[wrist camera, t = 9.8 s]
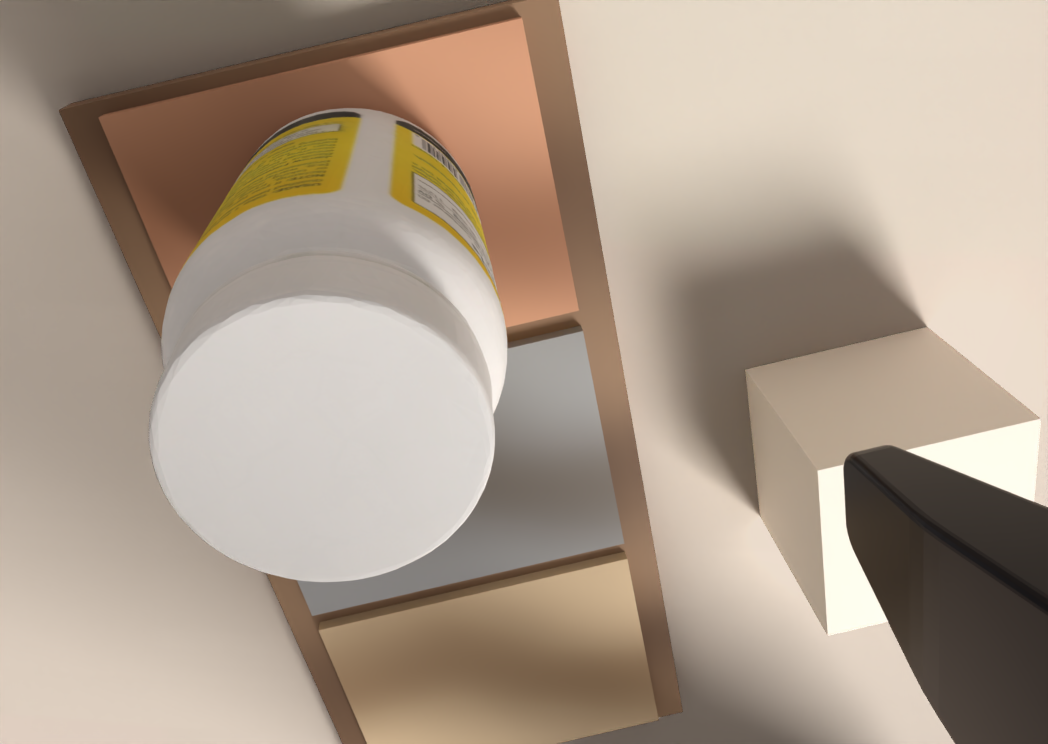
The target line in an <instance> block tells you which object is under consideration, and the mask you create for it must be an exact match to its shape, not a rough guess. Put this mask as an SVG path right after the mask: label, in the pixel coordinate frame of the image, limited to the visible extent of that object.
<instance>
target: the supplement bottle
mask: <svg viewBox="0 0 1048 744" xmlns="http://www.w3.org/2000/svg"><path fill="white" fill-rule="evenodd" d="M161 346H162V361H163V367H164V371H163V373H162V375H161V378H160V380H159V382H158V385H157V388H156V391H155V395H154V398H153V402H152V406H151V411H150V419H149V446H150V453H151V458H152V463H153V466H154V470H155V473H156V476H157V479H158V481H159V483H160V485H161V488H162V490H163V492H164V494H165V496H166V497H167V499H168V501H169V502H170V504H171V505H172V506H173V508H174V509H175V511H176V512H177V514H178V515H179V516H180V518H181V519H182V520H183V521H184V522H185V523H186V524H187V525H188V526H189V527H190V528H191V529H192V531H194V532H195V533H196V534H197V535H198V536H199V537H200V538H201V539H203V540H204V541H205V542H206V543H208V544H209V545H210V546H211V547H213V548H214V549H216V550H217V551H219V552H221V553H222V554H224V555H225V556H227V557H229V558H231V559H233V560H235V561H237V562H239V563H241V564H243V565H245V566H248V567H250V568H253V569H255V570H258V571H261V572H264V573H268V574H271V575H276V576H280V577H284V578H288V579H294V580H300V581H311V582H341V581H352V580H359V579H365V578H369V577H373V576H377V575H380V574H384V573H387V572H390V571H393V570H396V569H398V568H400V567H402V566H405V565H407V564H409V563H411V562H413V561H415V560H417V559H419V558H421V557H423V556H424V555H426V554H428V553H430V552H432V551H433V550H434V549H435V548H437V547H438V546H439V545H441V544H442V543H443V542H445V541H446V540H447V539H448V538H449V537H450V536H451V535H452V534H453V533H454V532H455V531H456V530H457V529H458V528H459V527H460V526H461V525H462V524H463V523H464V522H465V520H466V519H467V518H468V516H469V515H470V514H471V512H472V511H473V509H474V507H475V506H476V504H477V503H478V501H479V499H480V497H481V495H482V493H483V491H484V489H485V486H486V483H487V481H488V478H489V475H490V472H491V467H492V463H493V458H494V449H495V425H494V416H493V413H494V411H495V409H496V407H497V404H498V402H499V399H500V396H501V392H502V389H503V385H504V380H505V373H506V367H507V332H506V325H505V319H504V314H503V310H502V306H501V301H500V299H499V295H498V291H497V287H496V282H495V278H494V274H493V270H492V265H491V262H490V256H489V253H488V249H487V245H486V242H485V237H484V233H483V229H482V226H481V221H480V218H479V214H478V210H477V206H476V202H475V198H474V196H473V193H472V190H471V187H470V185H469V183H468V181H467V179H466V177H465V175H464V173H463V171H462V169H461V168H460V166H459V165H458V163H457V162H456V160H455V159H454V158H453V156H452V155H451V154H450V153H449V152H448V150H447V149H446V148H445V147H444V146H443V145H442V144H441V143H440V142H439V141H437V140H436V139H435V138H434V137H433V136H431V135H430V134H429V133H427V132H426V131H424V130H423V129H422V128H420V127H418V126H416V125H415V124H413V123H411V122H409V121H407V120H405V119H402V118H400V117H398V116H395V115H392V114H388V113H385V112H382V111H376V110H370V109H362V108H340V109H329V110H324V111H319V112H315V113H312V114H309V115H306V116H303V117H301V118H298V119H296V120H294V121H292V122H290V123H288V124H287V125H285V126H283V127H282V128H280V129H279V130H278V131H277V132H275V133H274V134H273V135H272V136H270V137H269V138H268V139H267V140H266V141H265V142H264V143H263V144H262V145H261V146H260V147H259V148H258V150H257V151H256V152H255V153H254V155H253V156H252V157H251V158H250V160H249V161H248V163H247V164H246V166H245V168H244V169H243V171H242V172H241V173H240V175H239V177H238V178H237V180H236V182H235V183H234V185H233V187H232V188H231V190H230V191H229V193H228V194H227V196H226V198H225V200H224V201H223V203H222V204H221V206H220V208H219V209H218V211H217V212H216V214H215V215H214V217H213V219H212V220H211V222H210V223H209V225H208V226H207V228H206V230H205V231H204V233H203V235H202V236H201V238H200V240H199V241H198V243H197V245H196V246H195V248H194V249H193V251H192V252H191V254H190V255H189V257H188V259H187V260H186V262H185V263H184V265H183V267H182V269H181V271H180V272H179V274H178V276H177V278H176V280H175V283H174V285H173V288H172V290H171V293H170V295H169V298H168V302H167V306H166V311H165V316H164V321H163V326H162V339H161Z"/></svg>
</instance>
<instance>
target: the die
mask: <svg viewBox="0 0 1048 744" xmlns="http://www.w3.org/2000/svg"><path fill="white" fill-rule="evenodd" d="M745 373H746V383H747V393H748V402H749V412H750V422H751V432H752V442H753V452H754V462H755V471H756V481H757V491H758V501H759V511H760V517H761V519H762V520H763V522H764V524H765V526H766V527H767V529H768V531H769V533H770V534H771V536H772V538H773V540H774V542H775V543H776V545H777V547H778V549H779V550H780V552H781V554H782V556H783V557H784V559H785V561H786V563H787V565H788V566H789V568H790V570H791V572H792V573H793V575H794V577H795V579H796V580H797V582H798V584H799V586H800V588H801V589H802V591H803V593H804V595H805V596H806V598H807V600H808V602H809V603H810V605H811V607H812V609H813V611H814V612H815V614H816V616H817V618H818V619H819V621H820V623H821V625H822V626H823V628H824V630H825V632H826V634H827V635H828V636H829V635H833V634H838V633H842V632H846V631H851V630H855V629H859V628H864V627H868V626H872V625H876V624H881V623H885V622H888V620H887V618H886V616H885V614H884V612H883V610H882V608H881V606H880V604H879V602H878V600H877V598H876V596H875V594H874V592H873V590H872V588H871V586H870V584H869V582H868V580H867V578H866V576H865V573H864V571H863V569H862V567H861V565H860V563H859V561H858V559H857V557H856V555H855V553H854V551H853V549H852V546H851V543H850V540H849V537H848V533H847V528H846V515H845V495H844V475H843V466H844V462H845V459H846V457H847V456H848V455H849V454H850V453H853V452H857V451H861V450H866V449H870V448H874V447H878V446H883V445H892V446H895V447H898V448H901V449H903V450H906V451H908V452H911V453H913V454H916V455H918V456H921V457H923V458H926V459H928V460H931V461H933V462H936V463H938V464H941V465H943V466H946V467H948V468H951V469H953V470H956V471H958V472H961V473H963V474H966V475H968V476H971V477H973V478H976V479H978V480H981V481H983V482H986V483H988V484H991V485H993V486H996V487H998V488H1001V489H1003V490H1006V491H1008V492H1011V493H1013V494H1016V495H1018V496H1021V497H1023V498H1026V499H1028V500H1031V501H1033V502H1034V497H1035V485H1036V473H1037V460H1038V448H1039V436H1040V424H1041V418H1039V417H1038V416H1037V415H1036V414H1034V413H1033V412H1032V411H1031V410H1030V409H1028V408H1027V407H1026V406H1025V405H1023V404H1022V403H1021V402H1020V401H1018V400H1017V399H1016V398H1015V397H1013V396H1012V395H1011V394H1010V393H1008V392H1007V391H1006V390H1005V389H1004V388H1002V387H1001V386H1000V385H999V384H997V383H996V382H995V381H994V380H992V379H991V378H990V377H989V376H987V375H986V374H985V373H984V372H982V371H981V370H980V369H979V368H978V367H976V366H975V365H974V364H973V363H971V362H970V361H969V360H968V359H966V358H965V357H964V356H963V355H961V354H960V353H959V352H958V351H956V350H955V349H954V348H953V347H952V346H950V345H949V344H948V343H947V342H945V341H944V340H943V339H942V338H940V337H939V336H938V335H937V334H935V333H934V332H933V331H932V330H930V329H929V328H928V327H924V328H920V329H916V330H912V331H907V332H903V333H899V334H894V335H890V336H886V337H882V338H877V339H873V340H869V341H865V342H860V343H856V344H852V345H848V346H843V347H839V348H835V349H830V350H826V351H822V352H818V353H813V354H809V355H805V356H801V357H796V358H792V359H788V360H783V361H779V362H775V363H771V364H766V365H762V366H758V367H754V368H749V369H745Z"/></svg>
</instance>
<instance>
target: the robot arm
mask: <svg viewBox="0 0 1048 744" xmlns="http://www.w3.org/2000/svg"><path fill="white" fill-rule="evenodd" d="M843 475H844V495H845V515H846V528H847V533H848V537H849V540H850V543H851V546H852V549H853V551H854V553H855V555H856V557H857V559H858V561H859V563H860V565H861V567H862V569H863V571H864V573H865V576H866V578H867V580H868V582H869V584H870V586H871V588H872V590H873V592H874V594H875V596H876V598H877V600H878V602H879V604H880V606H881V608H882V610H883V612H884V614H885V616H886V618H887V620H888V622H889V624H890V627H891V629H892V631H893V633H894V635H895V637H896V639H897V641H898V643H899V645H900V647H901V649H902V651H903V653H904V655H905V657H906V659H907V661H908V663H909V665H910V667H911V669H912V671H913V673H914V675H915V677H916V679H917V681H918V683H919V685H920V687H921V689H922V691H923V692H924V694H925V696H926V697H927V699H928V701H929V702H930V704H931V706H932V707H933V709H934V711H935V712H936V714H937V716H938V717H939V719H940V721H941V722H942V724H943V725H944V727H945V728H946V730H947V731H948V733H949V735H950V736H951V738H952V739H953V741H954V742H955V744H1048V507H1046V506H1043V505H1041V504H1038V503H1036V502H1033V501H1031V500H1028V499H1026V498H1023V497H1021V496H1018V495H1016V494H1013V493H1011V492H1008V491H1006V490H1003V489H1001V488H998V487H996V486H993V485H991V484H988V483H986V482H983V481H981V480H978V479H976V478H973V477H971V476H968V475H966V474H963V473H961V472H958V471H956V470H953V469H951V468H948V467H946V466H943V465H941V464H938V463H936V462H933V461H931V460H928V459H926V458H923V457H921V456H918V455H916V454H913V453H911V452H908V451H906V450H903V449H901V448H898V447H895V446H892V445H883V446H878V447H874V448H870V449H866V450H861V451H857V452H853V453H850V454H849V455H848V456H847V457H846V459H845V462H844V466H843Z"/></svg>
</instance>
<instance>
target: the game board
mask: <svg viewBox="0 0 1048 744" xmlns="http://www.w3.org/2000/svg"><path fill="white" fill-rule="evenodd" d="M340 108H362V109H370V110H376V111H382V112H385V113H388V114H392V115H395V116H398V117H400V118H402V119H405V120H407V121H409V122H411V123H413V124H415V125H416V126H418V127H420V128H422V129H423V130H424V131H426V132H427V133H429V134H430V135H431V136H433V137H434V138H435V139H436V140H437V141H439V142H440V143H441V144H442V145H443V146H444V147H445V148H446V149H447V150H448V152H449V153H450V154H451V155H452V156H453V158H454V159H455V160H456V162H457V163H458V165H459V166H460V168H461V169H462V171H463V173H464V175H465V177H466V179H467V181H468V183H469V185H470V187H471V190H472V193H473V196H474V198H475V202H476V206H477V210H478V214H479V218H480V221H481V226H482V229H483V233H484V237H485V242H486V245H487V249H488V253H489V256H490V262H491V265H492V270H493V274H494V278H495V282H496V287H497V291H498V295H499V299H500V301H501V306H502V310H503V314H504V319H505V325H506V332H507V367H506V373H505V380H504V385H503V389H502V392H501V396H500V399H499V402H498V404H497V407H496V409H495V411H494V413H493V416H494V425H495V449H494V458H493V463H492V467H491V472H490V475H489V478H488V481H487V483H486V486H485V489H484V491H483V493H482V495H481V497H480V499H479V501H478V503H477V504H476V506H475V507H474V509H473V511H472V512H471V514H470V515H469V516H468V518H467V519H466V520H465V522H464V523H463V524H462V525H461V526H460V527H459V528H458V529H457V530H456V531H455V532H454V533H453V534H452V535H451V536H450V537H449V538H448V539H447V540H446V541H445V542H443V543H442V544H441V545H439V546H438V547H437V548H435V549H434V550H433V551H432V552H430V553H428V554H426V555H424V556H423V557H421V558H419V559H417V560H415V561H413V562H411V563H409V564H407V565H405V566H402V567H400V568H398V569H396V570H393V571H390V572H387V573H384V574H380V575H377V576H373V577H369V578H365V579H359V580H352V581H341V582H311V581H300V580H294V579H288V578H284V577H280V576H276V575H271V574H268V573H266V574H267V576H268V578H269V581H270V583H271V585H272V587H273V589H274V592H275V594H276V596H277V598H278V601H279V603H280V605H281V607H282V609H283V612H284V614H285V616H286V618H287V621H288V623H289V625H290V627H291V630H292V632H293V634H294V636H295V638H296V641H297V643H298V645H299V647H300V650H301V652H302V654H303V656H304V659H305V661H306V663H307V665H308V667H309V670H310V672H311V674H312V676H313V679H314V681H315V683H316V685H317V688H318V690H319V692H320V694H321V696H322V699H323V701H324V703H325V705H326V708H327V710H328V712H329V714H330V716H331V719H332V721H333V723H334V725H335V728H336V730H337V732H338V734H339V737H340V739H341V741H342V743H343V744H558V743H563V742H567V741H571V740H575V739H580V738H584V737H588V736H593V735H597V734H601V733H606V732H610V731H614V730H619V729H623V728H627V727H632V726H636V725H640V724H645V723H649V722H653V721H658V720H659V719H658V718H659V717H663V716H667V715H672V714H676V713H680V712H683V710H682V705H681V699H680V693H679V687H678V682H677V676H676V670H675V664H674V659H673V653H672V647H671V642H670V636H669V630H668V624H667V619H666V613H665V607H664V601H663V596H662V590H661V584H660V579H659V573H658V567H657V561H656V556H655V550H654V544H653V538H652V533H651V527H650V521H649V516H648V510H647V504H646V498H645V493H644V487H643V481H642V475H641V470H640V464H639V458H638V453H637V447H636V441H635V435H634V430H633V424H632V418H631V412H630V407H629V401H628V395H627V390H626V384H625V378H624V372H623V367H622V361H621V355H620V349H619V344H618V338H617V332H616V327H615V321H614V315H613V309H612V304H611V298H610V292H609V286H608V281H607V275H606V269H605V264H604V258H603V252H602V246H601V241H600V235H599V229H598V223H597V218H596V212H595V206H594V200H593V195H592V189H591V183H590V178H589V172H588V166H587V160H586V155H585V149H584V143H583V137H582V132H581V126H580V120H579V115H578V109H577V103H576V97H575V92H574V86H573V80H572V74H571V69H570V63H569V57H568V52H567V46H566V40H565V34H564V29H563V23H562V17H561V11H560V6H559V0H509V1H505V2H501V3H497V4H492V5H488V6H484V7H479V8H475V9H471V10H467V11H462V12H458V13H454V14H450V15H445V16H441V17H437V18H433V19H428V20H424V21H420V22H416V23H411V24H407V25H403V26H399V27H394V28H390V29H386V30H382V31H377V32H373V33H369V34H365V35H360V36H356V37H352V38H348V39H343V40H339V41H335V42H331V43H326V44H322V45H318V46H313V47H309V48H305V49H301V50H296V51H292V52H288V53H284V54H279V55H275V56H271V57H267V58H262V59H258V60H254V61H250V62H245V63H241V64H237V65H233V66H228V67H224V68H220V69H216V70H211V71H207V72H203V73H199V74H194V75H190V76H186V77H182V78H177V79H173V80H169V81H165V82H160V83H156V84H152V85H148V86H143V87H139V88H135V89H130V90H126V91H122V92H118V93H113V94H109V95H105V96H101V97H96V98H92V99H88V100H84V101H79V102H75V103H71V104H69V105H68V106H66V107H64V108H62V109H60V110H59V112H60V115H61V117H62V119H63V121H64V124H65V126H66V128H67V130H68V132H69V135H70V137H71V139H72V141H73V144H74V146H75V148H76V150H77V153H78V155H79V157H80V159H81V161H82V164H83V166H84V168H85V170H86V173H87V175H88V177H89V179H90V182H91V184H92V186H93V188H94V190H95V193H96V195H97V197H98V199H99V202H100V204H101V206H102V208H103V210H104V213H105V215H106V217H107V219H108V222H109V224H110V226H111V228H112V231H113V233H114V235H115V237H116V239H117V242H118V244H119V246H120V248H121V251H122V253H123V255H124V257H125V260H126V262H127V264H128V266H129V268H130V271H131V273H132V275H133V277H134V280H135V282H136V284H137V286H138V289H139V291H140V293H141V295H142V297H143V300H144V302H145V304H146V306H147V309H148V311H149V313H150V315H151V317H152V320H153V322H154V324H155V326H156V329H157V331H158V333H159V335H160V338H161V339H162V326H163V321H164V316H165V311H166V306H167V302H168V298H169V295H170V293H171V290H172V288H173V285H174V283H175V280H176V278H177V276H178V274H179V272H180V271H181V269H182V267H183V265H184V263H185V262H186V260H187V259H188V257H189V255H190V254H191V252H192V251H193V249H194V248H195V246H196V245H197V243H198V241H199V240H200V238H201V236H202V235H203V233H204V231H205V230H206V228H207V226H208V225H209V223H210V222H211V220H212V219H213V217H214V215H215V214H216V212H217V211H218V209H219V208H220V206H221V204H222V203H223V201H224V200H225V198H226V196H227V194H228V193H229V191H230V190H231V188H232V187H233V185H234V183H235V182H236V180H237V178H238V177H239V175H240V173H241V172H242V171H243V169H244V168H245V166H246V164H247V163H248V161H249V160H250V158H251V157H252V156H253V155H254V153H255V152H256V151H257V150H258V148H259V147H260V146H261V145H262V144H263V143H264V142H265V141H266V140H267V139H268V138H269V137H270V136H272V135H273V134H274V133H275V132H277V131H278V130H279V129H280V128H282V127H283V126H285V125H287V124H288V123H290V122H292V121H294V120H296V119H298V118H301V117H303V116H306V115H309V114H312V113H315V112H319V111H324V110H329V109H340Z"/></svg>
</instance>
